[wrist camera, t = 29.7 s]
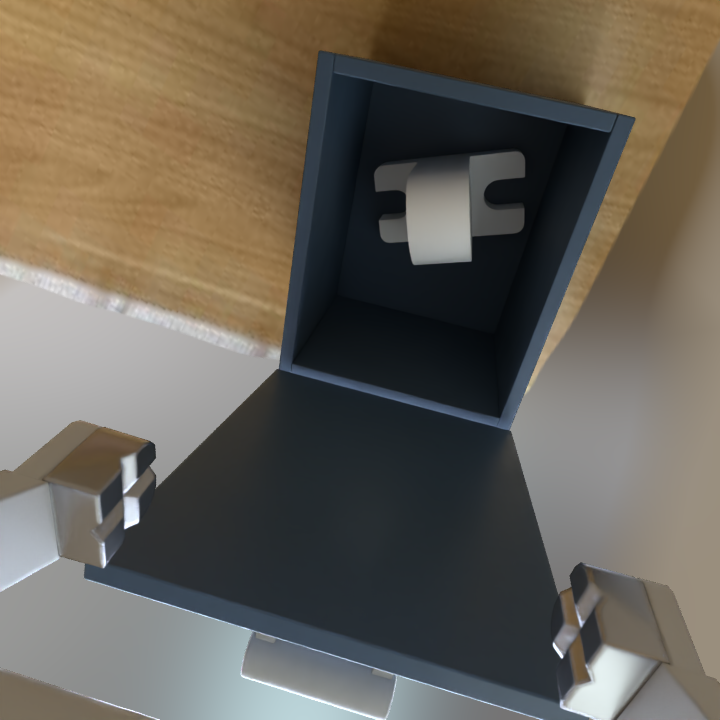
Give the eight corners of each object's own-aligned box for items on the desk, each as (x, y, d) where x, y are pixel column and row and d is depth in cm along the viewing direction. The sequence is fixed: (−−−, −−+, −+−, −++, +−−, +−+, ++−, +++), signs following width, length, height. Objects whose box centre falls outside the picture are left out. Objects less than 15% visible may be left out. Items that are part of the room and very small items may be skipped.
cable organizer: (377, 162, 38) (348, 187, 29) (523, 147, 36) (537, 168, 27) (385, 236, 40) (360, 279, 31) (522, 226, 38) (535, 269, 29)
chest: (367, 58, 36) (318, 49, 25) (585, 105, 34) (636, 117, 23) (328, 297, 44) (278, 370, 33) (500, 341, 43) (508, 432, 32)
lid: (84, 557, 15) (75, 681, 17) (593, 712, 14) (535, 831, 16) (276, 368, 33) (264, 437, 34) (511, 430, 31) (487, 499, 33)
